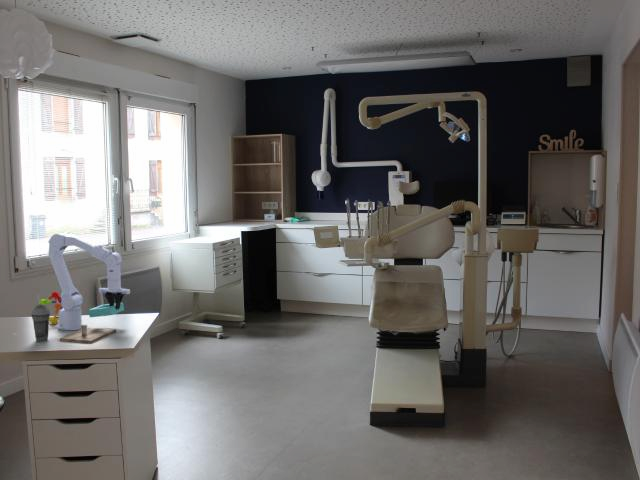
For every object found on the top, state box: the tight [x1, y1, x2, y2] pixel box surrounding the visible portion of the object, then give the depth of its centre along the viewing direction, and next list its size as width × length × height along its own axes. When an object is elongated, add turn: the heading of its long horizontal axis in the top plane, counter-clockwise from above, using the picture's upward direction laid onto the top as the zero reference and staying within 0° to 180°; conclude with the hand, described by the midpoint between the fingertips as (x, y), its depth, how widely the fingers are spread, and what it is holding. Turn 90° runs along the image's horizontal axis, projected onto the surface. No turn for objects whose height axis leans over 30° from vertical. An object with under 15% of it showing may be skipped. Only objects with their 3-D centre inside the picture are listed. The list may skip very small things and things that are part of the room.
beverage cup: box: [30, 293, 51, 343], centre depth 269 cm, size 7×7×20 cm
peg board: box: [59, 324, 117, 344], centre depth 277 cm, size 15×19×6 cm
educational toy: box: [39, 291, 64, 325], centre depth 304 cm, size 16×13×15 cm
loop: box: [88, 302, 125, 318], centre depth 290 cm, size 11×11×4 cm
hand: (115, 308), depth 289 cm, fingers closed on loop, 2 cm apart
